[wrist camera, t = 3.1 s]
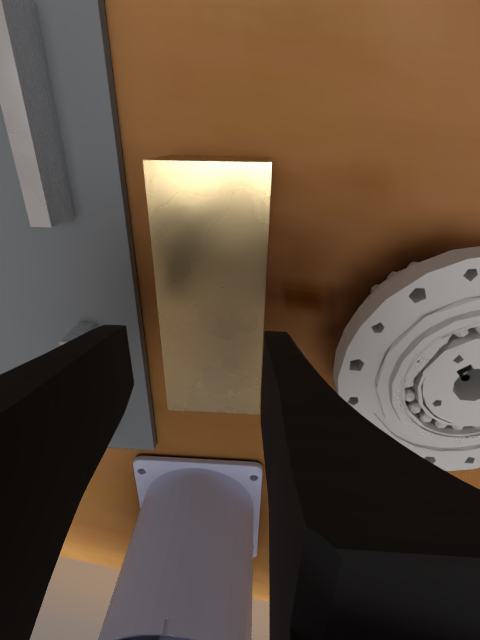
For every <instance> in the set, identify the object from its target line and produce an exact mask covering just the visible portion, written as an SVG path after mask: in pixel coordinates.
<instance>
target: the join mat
mask: <svg viewBox="0 0 480 640" xmlns="http://www.w3.org/2000/svg"><path fill="white" fill-rule="evenodd" d="M32 1H34V2H35V3H36V4H37V10H38V15H39V20H40V26H41V31H42V36H43V42H44V47H45V52H46V58H47V63H48V68H49V74H50V79H51V85H52V90H53V95H54V101H55V106H56V111H57V117H58V122H59V127H60V133H61V138H62V143H63V149H64V154H65V160H66V165H67V170H68V176H69V181H70V186H71V192H72V197H73V202H74V208H75V213H76V217H75V218H73V219H70V220H68V221H66V222H63V223H61V224H58V225H56V226H54V227H31V226H30V222H29V218H28V214H27V210H26V206H25V202H24V198H23V194H22V190H21V186H20V182H19V178H18V174H17V170H16V166H15V162H14V157H13V153H12V149H11V145H10V141H9V137H8V133H7V129H6V125H5V121H4V117H3V113H2V109H1V105H0V374H2V373H5V372H7V371H9V370H11V369H13V368H15V367H17V366H20V365H22V364H24V363H26V362H28V361H30V360H32V359H35V358H37V357H39V356H41V355H43V354H45V353H47V352H49V351H51V350H53V349H55V348H57V347H59V346H60V344H59V341H60V340H61V339H62V338H63V337H64V336H65V335H66V334H67V333H68V332H69V331H70V330H71V329H72V328H73V327H74V326H75V325H76V324H77V323H78V322H79V321H90V322H96V326H97V327H100V326H102V325H126V329H127V336H128V343H129V350H130V357H131V364H132V371H133V378H134V387H133V390H132V393H131V396H130V399H129V402H128V405H127V408H126V410H125V413H124V415H123V417H122V419H121V422H120V424H119V425H118V427H117V429H116V431H115V433H114V435H113V437H112V439H111V441H110V443H109V445H108V447H107V448H123V449H141V450H154V449H155V447H156V444H157V440H156V431H155V423H154V414H153V406H152V398H151V389H150V381H149V373H148V364H147V356H146V348H145V339H144V331H143V322H142V314H141V306H140V297H139V289H138V281H137V272H136V264H135V256H134V247H133V239H132V231H131V222H130V214H129V205H128V197H127V189H126V180H125V172H124V164H123V155H122V147H121V139H120V130H119V122H118V113H117V105H116V97H115V88H114V80H113V72H112V63H111V55H110V47H109V38H108V30H107V22H106V13H105V5H104V0H32Z"/></svg>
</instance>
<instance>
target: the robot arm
mask: <svg viewBox="0 0 480 640" xmlns="http://www.w3.org/2000/svg"><path fill="white" fill-rule="evenodd" d="M133 387H134V378H133V371H132V364H131V357H130V350H129V343H128V336H127V329H126V325H102V326H100V327H97V328H95V329H93V330H91V331H88V332H86V333H84V334H82V335H80V336H78V337H76V338H74V339H72V340H70V341H69V342H67V343H65V344H63V345H61V346H59V347H57V348H55V349H53V350H51V351H49V352H47V353H45V354H43V355H41V356H39V357H37V358H35V359H32V360H30V361H28V362H26V363H24V364H22V365H20V366H17V367H15V368H13V369H11V370H9V371H7V372H5V373H2V374H0V640H29V639H30V636H31V634H32V630H33V628H34V625H35V622H36V619H37V616H38V613H39V610H40V607H41V604H42V601H43V598H44V595H45V593H46V590H47V587H48V583H49V581H50V579H51V576H52V573H53V570H54V568H55V565H56V562H57V560H58V557H59V554H60V551H61V549H62V546H63V543H64V541H65V538H66V536H67V533H68V531H69V528H70V526H71V523H72V520H73V518H74V515H75V513H76V510H77V508H78V505H79V503H80V501H81V498H82V496H83V494H84V492H85V490H86V488H87V486H88V483H89V482H90V480H91V478H92V476H93V474H94V472H95V470H96V468H97V466H98V464H99V462H100V460H101V458H102V457H103V455H104V453H105V451H106V449H107V447H108V445H109V443H110V441H111V439H112V437H113V435H114V433H115V431H116V429H117V427H118V425H119V424H120V422H121V419H122V417H123V415H124V413H125V410H126V408H127V405H128V402H129V399H130V396H131V393H132V390H133ZM261 429H262V439H263V449H264V459H265V469H266V479H267V489H268V502H269V569H270V640H480V490H479V489H477V488H475V487H473V486H472V485H470V484H468V483H466V482H464V481H462V480H460V479H458V478H456V477H455V476H453V475H451V474H449V473H448V472H446V471H444V470H443V469H441V468H439V467H438V466H436V465H434V464H433V463H431V462H429V461H427V460H426V459H424V458H422V457H421V456H419V455H418V454H416V453H415V452H413V451H411V450H410V449H408V448H407V447H405V446H404V445H402V444H401V443H399V442H398V441H396V440H395V439H394V438H392V437H391V436H389V435H388V434H387V433H385V432H384V431H382V430H381V429H379V428H378V427H377V426H375V425H374V424H373V423H371V422H370V421H369V420H368V419H366V418H365V417H364V416H362V415H361V414H360V413H359V412H358V411H357V410H355V409H354V408H353V407H352V406H351V405H350V404H348V403H347V402H346V401H345V400H344V399H343V398H342V397H341V396H339V395H338V394H337V393H336V392H335V391H334V390H333V389H332V388H331V387H330V386H329V385H328V384H327V382H326V381H325V380H324V379H323V378H322V377H321V376H320V375H319V373H318V372H317V371H316V370H315V369H314V368H313V366H312V365H311V364H310V363H309V362H308V360H307V359H306V358H305V356H304V355H303V354H302V352H301V351H300V350H299V348H298V347H297V346H296V344H295V343H294V341H293V340H292V338H291V337H290V335H289V334H288V333H287V332H272V331H265V333H264V350H263V368H262V385H261ZM133 468H134V474H135V480H136V486H137V492H138V498H139V504H140V512H139V515H138V519H137V522H136V525H135V528H134V531H133V534H132V537H131V540H130V543H129V546H128V549H127V552H126V555H125V558H124V561H123V565H122V568H121V571H120V574H119V577H118V580H117V583H116V586H115V589H114V592H113V595H112V598H111V601H110V605H109V607H108V611H107V614H106V617H105V620H104V623H103V626H102V629H101V632H100V635H99V638H98V640H251V626H252V578H253V558H255V557H256V556H257V546H258V531H259V516H260V501H261V487H262V465H261V464H259V463H258V462H247V461H230V460H212V459H194V458H176V457H158V456H137V457H136V458H135V459H134V462H133ZM253 475H255V476H253Z"/></svg>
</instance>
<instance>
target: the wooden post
mask: <svg viewBox="0 0 480 640" xmlns="http://www.w3.org/2000/svg"><path fill="white" fill-rule="evenodd" d="M143 166H144V176H145V186H146V196H147V206H148V216H149V226H150V236H151V246H152V256H153V266H154V276H155V286H156V297H157V307H158V317H159V327H160V337H161V347H162V357H163V367H164V377H165V387H166V397H167V407H168V410H175V411H196V412H217V413H238V414H259V409H260V390H261V370H262V350H263V331H264V311H265V291H266V271H267V252H268V232H269V212H270V193H271V173H272V161H271V159H270V157H237V156H182V155H169V156H163V157H158V158H152V159H146V160H143Z"/></svg>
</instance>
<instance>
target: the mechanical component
mask: <svg viewBox="0 0 480 640" xmlns="http://www.w3.org/2000/svg"><path fill="white" fill-rule="evenodd" d="M333 380H334V384H335V389H336V393H337V394H338V395H339V396H341V397H342V398H343V399H344V400H345V401H346V402H347V403H348V404H350V405H351V406H352V407H353V408H354V409H355V410H357V411H358V412H359V413H360V414H361V415H362V416H364V417H365V418H366V419H368V420H369V421H370V422H371V423H373V424H374V425H375V426H377V427H378V428H379V429H381V430H382V431H384V432H385V433H387V434H388V435H389V436H391V437H392V438H394V439H395V440H396V441H398V442H399V443H401V444H402V445H404V446H405V447H407V448H408V449H410V450H411V451H413V452H415V453H416V454H418V455H419V456H421V457H422V458H424V459H426V460H427V461H429V462H431V463H433V464H434V465H436V466H438V467H439V468H441V469H443V470H444V471H454V470H468V469H475V468H480V246H477V247H470V248H463V249H456V250H450V251H448V252H445V253H442V254H440V255H437V256H434V257H432V258H429V259H427V260H424V261H421V262H411V263H410V264H409V265H408V266H407V268H405V269H403V270H400V271H398V272H395V271H392V272H391V273H390V274H389V275H388V276H387V279H386V280H385V281H383V282H382V283H381V284H378V285H374V286H373V287H372V288H371V294H370V295H369V296H368V297H367V298H366V299H365V300H364V302H363V303H362V304H361V305H360V306H359V308H358V309H357V311H356V312H355V314H354V315H353V317H352V318H351V320H350V321H349V323H348V324H347V326H346V327H345V329H344V331H343V334H342V336H341V339H340V341H339V344H338V346H337V349H336V354H335V361H334V369H333Z"/></svg>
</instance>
